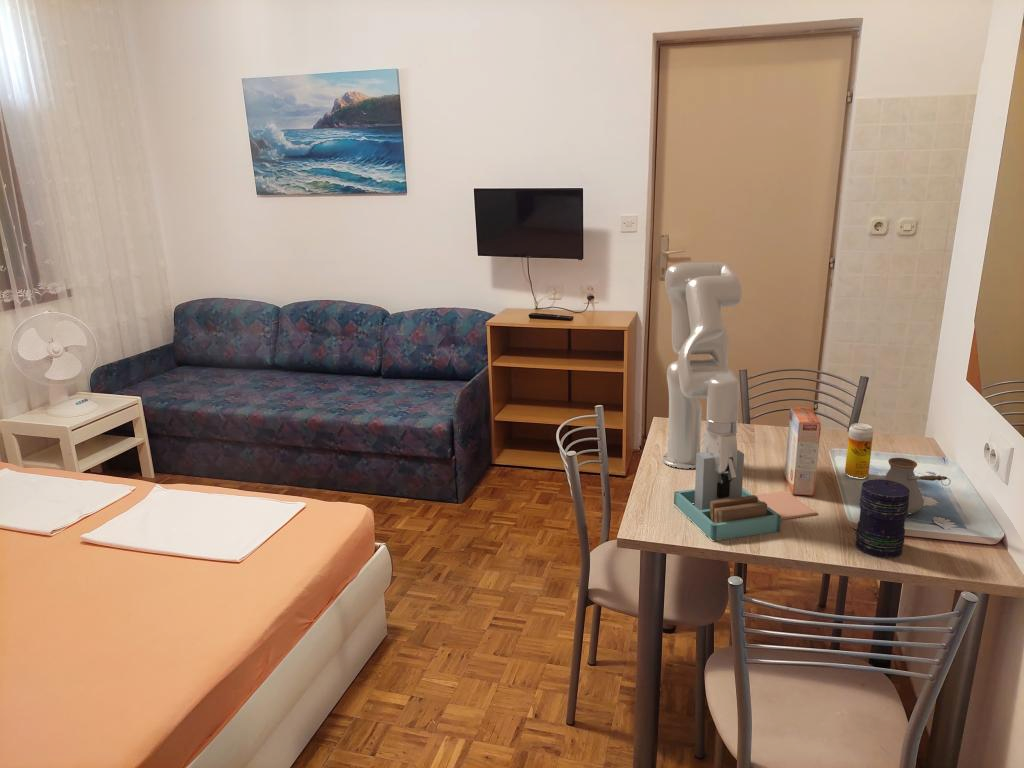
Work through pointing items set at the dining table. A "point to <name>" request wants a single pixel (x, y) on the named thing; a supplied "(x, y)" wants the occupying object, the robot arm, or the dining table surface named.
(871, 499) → the dark-blue ribbed cylinder
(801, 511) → the mat
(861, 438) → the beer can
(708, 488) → the grey block
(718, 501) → the offcut slab
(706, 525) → the rack
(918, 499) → the coffee pot
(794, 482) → the cracker box
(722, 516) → the offcut slab
